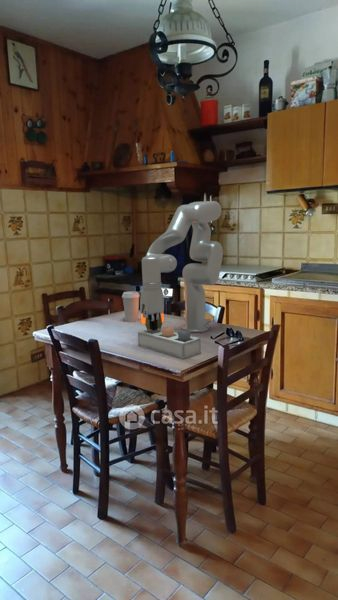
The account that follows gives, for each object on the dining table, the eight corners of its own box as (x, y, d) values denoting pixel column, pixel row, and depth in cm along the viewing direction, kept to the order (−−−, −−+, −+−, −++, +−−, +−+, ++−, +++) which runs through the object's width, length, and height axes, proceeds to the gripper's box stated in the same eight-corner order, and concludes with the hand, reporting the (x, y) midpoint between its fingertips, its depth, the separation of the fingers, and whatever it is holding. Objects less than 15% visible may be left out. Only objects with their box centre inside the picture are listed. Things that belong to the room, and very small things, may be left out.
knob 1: (153, 339, 183) (153, 328, 182) (161, 341, 180) (161, 330, 179) (145, 342, 180) (145, 330, 179) (153, 344, 176) (152, 332, 175)
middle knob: (168, 337, 176) (168, 325, 175) (176, 339, 173) (176, 327, 172) (159, 340, 173) (159, 328, 172) (168, 342, 170) (167, 330, 169)
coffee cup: (140, 322, 221) (139, 293, 218) (121, 322, 221) (120, 294, 218) (141, 318, 230) (140, 290, 227) (123, 318, 230) (122, 291, 227)
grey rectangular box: (155, 340, 186) (155, 327, 185) (200, 353, 168) (200, 338, 167) (138, 345, 179) (137, 332, 178) (183, 359, 161) (182, 343, 160)
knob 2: (184, 341, 170) (183, 329, 169) (193, 343, 167) (192, 331, 166) (175, 344, 167) (175, 331, 166) (184, 346, 163) (184, 334, 162)
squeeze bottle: (149, 334, 196) (148, 296, 193) (142, 331, 203) (141, 294, 200) (165, 332, 200) (164, 294, 196) (157, 328, 207) (156, 292, 204)
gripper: (158, 283, 183) (160, 324, 187) (132, 288, 173) (134, 331, 177) (171, 284, 178) (172, 327, 182) (144, 289, 168) (146, 334, 171)
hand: (153, 329), depth 179 cm, fingers closed
